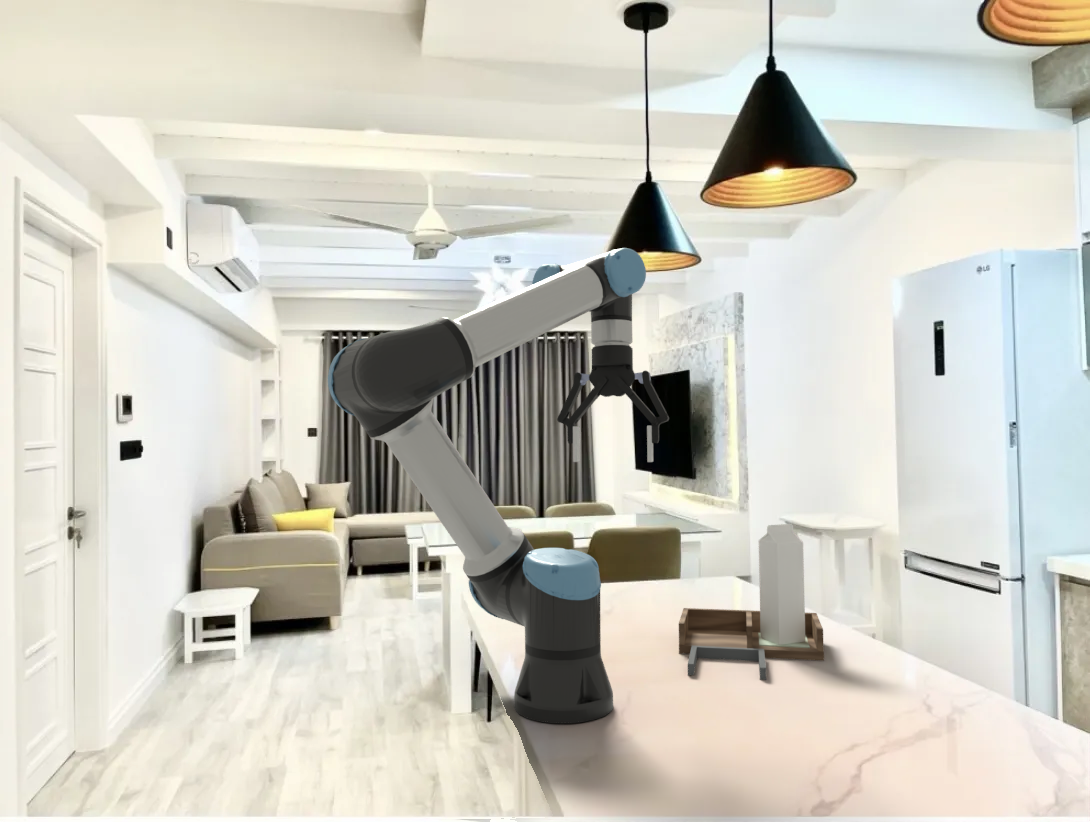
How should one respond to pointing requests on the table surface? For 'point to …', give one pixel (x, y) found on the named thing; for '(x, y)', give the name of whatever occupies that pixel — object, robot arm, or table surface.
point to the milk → (781, 585)
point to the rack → (745, 633)
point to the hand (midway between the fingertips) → (613, 462)
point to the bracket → (727, 656)
